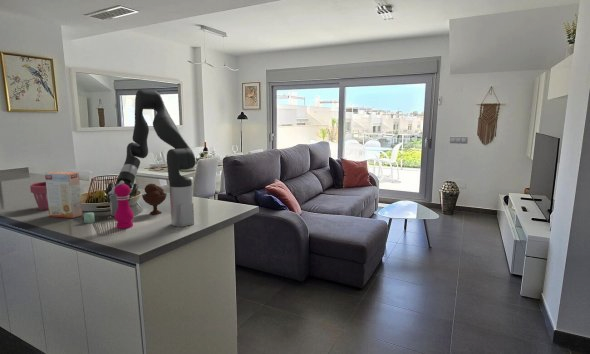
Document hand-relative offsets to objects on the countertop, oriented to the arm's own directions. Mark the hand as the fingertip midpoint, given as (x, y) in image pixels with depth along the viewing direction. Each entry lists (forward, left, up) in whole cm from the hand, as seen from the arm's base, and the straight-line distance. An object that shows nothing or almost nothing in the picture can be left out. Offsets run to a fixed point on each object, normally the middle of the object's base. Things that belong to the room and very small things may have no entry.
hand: (117, 202), depth 163 cm
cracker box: (+15, +17, -6) cm, 24 cm away
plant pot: (+39, +18, -6) cm, 44 cm away
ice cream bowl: (-11, -14, -6) cm, 18 cm away
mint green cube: (-4, +13, -6) cm, 15 cm away
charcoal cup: (0, -1, -6) cm, 6 cm away
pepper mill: (-22, +5, -6) cm, 23 cm away
